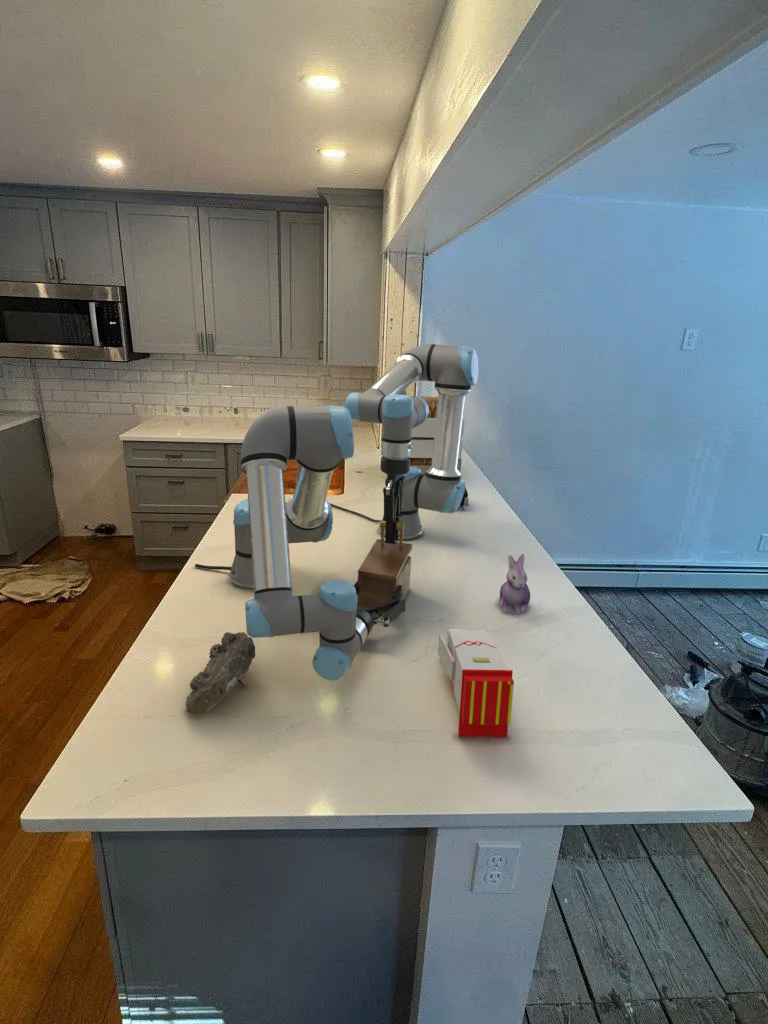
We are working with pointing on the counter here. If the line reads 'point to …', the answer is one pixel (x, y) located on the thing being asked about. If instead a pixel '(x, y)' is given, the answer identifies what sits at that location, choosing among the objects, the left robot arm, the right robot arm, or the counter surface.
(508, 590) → the figurine
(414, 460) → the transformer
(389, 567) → the lid
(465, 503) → the figurine character
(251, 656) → the fossil
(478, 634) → the toy
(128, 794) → the counter surface
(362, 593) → the chest
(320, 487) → the left robot arm
